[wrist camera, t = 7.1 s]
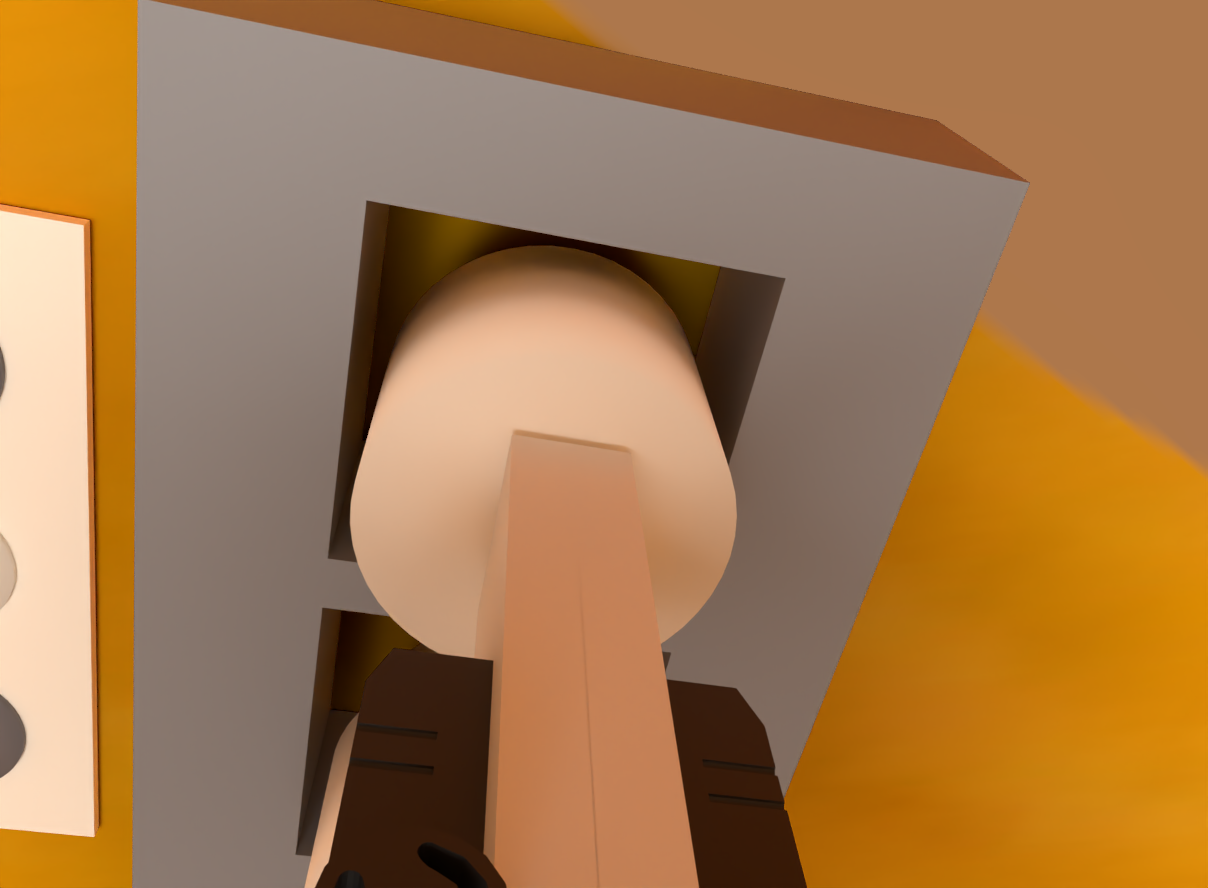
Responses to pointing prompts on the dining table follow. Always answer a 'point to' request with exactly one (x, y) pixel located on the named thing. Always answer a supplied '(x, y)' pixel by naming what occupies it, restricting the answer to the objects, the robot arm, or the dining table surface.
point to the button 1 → (534, 432)
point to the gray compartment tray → (346, 336)
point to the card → (47, 527)
